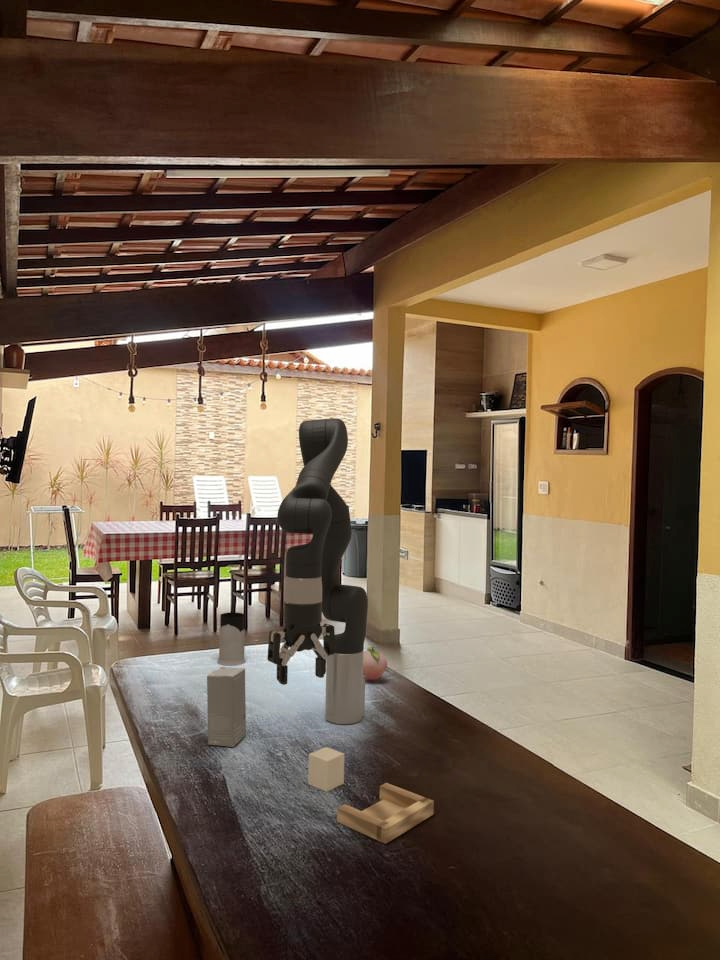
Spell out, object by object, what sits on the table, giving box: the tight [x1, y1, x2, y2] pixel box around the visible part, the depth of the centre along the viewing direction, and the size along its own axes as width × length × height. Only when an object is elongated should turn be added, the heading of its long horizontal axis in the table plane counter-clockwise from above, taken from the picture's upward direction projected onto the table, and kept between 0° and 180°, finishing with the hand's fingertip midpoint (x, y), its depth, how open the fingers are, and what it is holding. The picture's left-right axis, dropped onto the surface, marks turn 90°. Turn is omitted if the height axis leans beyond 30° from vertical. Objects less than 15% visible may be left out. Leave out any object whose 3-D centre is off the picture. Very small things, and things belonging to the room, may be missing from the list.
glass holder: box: [217, 612, 246, 667], centre depth 232 cm, size 9×14×15 cm, turn 171°
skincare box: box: [206, 666, 247, 748], centre depth 165 cm, size 8×7×16 cm
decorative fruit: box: [363, 646, 388, 682], centre depth 213 cm, size 9×8×10 cm
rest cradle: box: [336, 782, 435, 845], centre depth 130 cm, size 14×11×2 cm
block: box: [307, 746, 345, 792], centre depth 144 cm, size 5×5×6 cm
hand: (301, 680), depth 144 cm, fingers open, 8 cm apart
